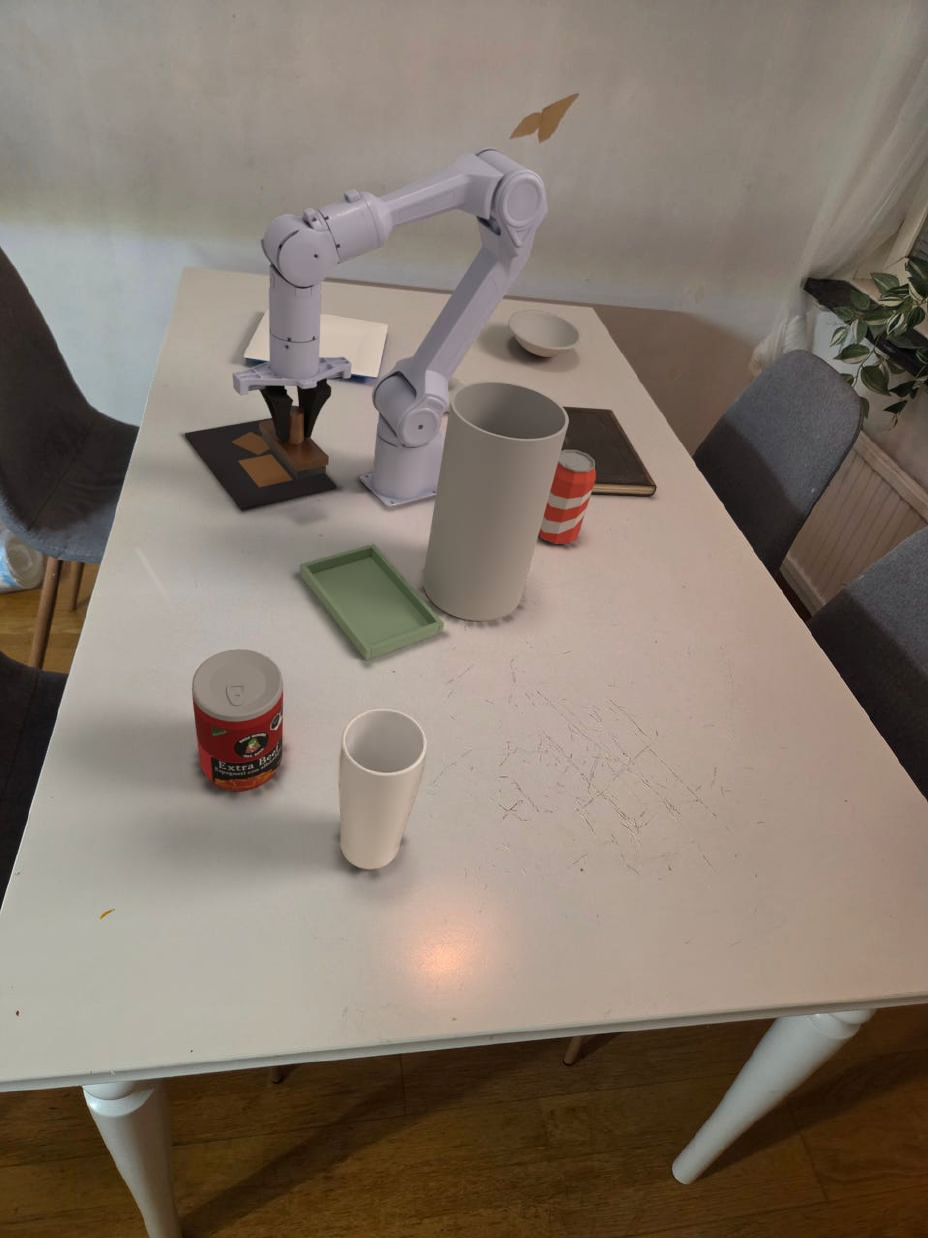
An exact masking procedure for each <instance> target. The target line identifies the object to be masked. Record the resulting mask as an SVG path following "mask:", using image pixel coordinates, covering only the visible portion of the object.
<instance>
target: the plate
mask: <svg viewBox="0 0 928 1238" xmlns="http://www.w3.org/2000/svg"><path fill="white" fill-rule="evenodd" d="M388 329H389V325H388V324H386V323H383V322H376V321H371V320H364V319H358V318H352V317H346V316H339V315H333V314H327V313H321V318H320V346H319V357H345V358H346V359H347V360H348V361H349V362H351V363H352V368H351V376H354V377H355V376H356V377H361V378H367V379H373V380H375V379H377V378H378V377H379V374H380V373H379V372H380V368H381V363H382V359H383V358H382V357H383V353H384V348H385V343H386V339H387V334H388V331H389V330H388ZM242 357H243V358H244V359H246V360H250V361H255V362H263V363H265V362H268V361H270V347H269V305H268V306H267V308H266V310H265V312H264V314H263V316H262V318H261V320H260V321H259V324H258V326H257V328H256V330H255V332H254V334H253V335H252V338H251V340H250V341H249V343H248V345H247V347H246V349H245V351H244V353H243V355H242Z"/></svg>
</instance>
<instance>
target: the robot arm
mask: <svg viewBox="0 0 928 1238" xmlns="http://www.w3.org/2000/svg"><path fill="white" fill-rule="evenodd" d="M343 197H344V198H342V199H339V200H337V201H334V202H332V203H328V204H326V205H323V206H321V207H318V208H316V209H314V208H313V207H308V208H305V209H303V211H302V213H303V214H302V217H301V216H299V215H297V214H295V215H294V214H292V213H286V214H282V215H281V214H280V215H279V216H276V217H275V218H274V219H272V220H271V222H270V225H267V227H266V229H265V231H264V234H263V237H262V238H260V246H261V250H262V252H263V255H264V257H266V259H267V260H268V262H269V263H270V264H269V288H268V306H269V347H270V361H268V362H263V363H260V364H258V365H257V364H256V365H254V366H252V367H250V368H246V369H244V370H240V371H234V372H232V386H233V387H232V388H233V389H234V391H236V393H238V395H240V396H245V395H249V393H250V392H252V391H253V392H254V391H258V390H259V392H260V395H261V396H262V398H263V399H264V402H265V404H266V406H267V408H268V411H269V413H270V418H272V420H273V423H274V428H275V432H276V436H277V437H278V438H279V439H280V440H281V441H282V442H283V443H285V442H288V439H289V417H290V411H291V406H292V405H293V403H294V399H293V398H292V397H291V396H290V395H289V394H288V389H287V388H286V387H296V391H297V401H298V406H299V407H301V408H303V409H304V411H305V419H304V436H305V437H306V438H312V434H313V431H314V427H315V424H316V423H317V419H318V417H319V415H320V412H321V411H322V409H323V407H324V405H325V404H326V403H327V402H328V400H329V399H330V398H331V396H332V386H330V384H329V383H328V379H334V378H340V377H341V378H342V379H344V380H345V379H351V377H352V375H351V368H352V363H351V362H349V361H348V360H347V359H346V358H345V357H319V346H320V318H321V314H322V282H323V281H324V280H325V279H326V278H327V276H328V275H329V273H330V271H331V270H332V269H333V268H334V267H336V266H338V265H340V264H342V263H345V262H347V261H350V260H352V259H355V258H358V257H360V256H362V255H365V254H368V253H369V252H372V251H375V250H377V249H380V248H382V247H384V246H385V245H386V243H387V241H388V239H389V237H390V234H391V232H392V231H393V230H396V229H399V228H402V227H406V226H409V225H411V224H415V223H418V222H421V221H423V220H424V221H425V220H427V219H430V218H433V217H436V216H440V215H442V214H445V213H449V212H451V211H454V210H459V211H462V212H465V213H468V214H470V215H473V216H475V218H476V220H477V226H478V231H479V235H480V239H481V241H480V242H481V248H480V249H479V251H478V253H477V254H476V256H475V257H474V259H473V260H472V262H471V264H470V265H469V267H468V268H467V270H466V272H465V273H464V274H463V276H462V278H461V280H460V281H459V283H458V284H457V286H456V287H455V289H454V291H453V292H452V294H451V295H450V297H449V298H448V300H447V302H446V304H445V305H444V306H443V308H442V310H441V311H440V313H439V314H438V316H437V318H436V319H435V320H434V322H433V324H432V326H430V328H429V330H428V332H427V333H426V335H425V337H424V338H423V340H422V342H421V343H420V345H419V346H418V348H417V349H416V351H415V353H414V354H413V355H412V356H410V357H404V358H402V359H399V360H397V362H395V365H394V366H393V367H392V369H391V370H390V371H389V372H388V373H386V374H384V375H383V376H382V377H381V378H380V379H378V381H377V382H375V385H374V387H373V389H372V392H371V401H372V405H373V407H374V408H375V410H376V411H377V412H378V419H377V420H378V421H377V424H376V432H375V433H376V434H375V444H374V455H373V467H372V472H371V473H366V474H362V475H360V476H359V480H360V481H361V482H362V484H364V485H365V486H366V488H367V489H368V490H369V491H370V492H372V493H373V494H374V496H375V497H377V498H378V500H379V501H380V502H381V503H382V504H383V505H384V506H385V507H387V508H391V507H395V506H400V505H404V504H407V503H411V502H415V501H419V500H423V499H426V498H432V497H436V492H437V485H438V479H439V473H440V466H441V460H442V454H443V447H444V441H445V438H444V436H443V434H442V432H441V431H440V429H441V426H442V420H443V417H444V414H445V413H446V412H445V411H446V409H447V408H448V406H449V391H448V381H449V379H450V378H451V377H453V375H454V374H455V372H456V370H457V369H458V367H459V366H460V364H461V363H462V361H463V360H464V358H465V357H466V355H467V354H468V352H469V351H470V349H471V348H472V346H473V344H474V343H475V341H476V340H477V339H478V337H479V336H480V334H481V332H482V331H483V329H484V328H485V326H486V325H487V324H488V321H490V319H491V317H492V316H493V314H494V313H495V311H496V310H497V308H498V307H499V305H500V304H501V302H502V300H503V299H504V297H505V296H506V294H507V293H508V291H509V289H510V288H511V287H512V285H514V284H513V283H514V282H515V281H516V280H517V278H518V276H519V275H520V274H521V272H522V270H523V269H524V267H525V266H526V264H527V262H528V260H529V258H530V255H531V252H532V248H533V244H534V240H535V236H536V232H537V229H538V228H539V227H540V225H541V224H542V222H543V220H544V219H545V217H546V216H547V214H548V212H549V208H548V201H547V194H546V188H545V183H544V181H543V180H542V178H541V176H540V175H539V174H537V172H535V171H533V170H531V169H529V168H526V167H524V166H523V165H521V164H519V163H518V162H516V161H515V160H513V159H511V158H510V157H508V156H507V155H506V154H504V152H502V151H501V150H500V149H498V148H496V147H492V146H486V147H482V148H479V149H478V150H476V151H474V152H468V153H463V154H461V155H459V156H458V157H457V158H456V159H455V160H454V161H453V162H452V163H450V164H448V165H447V166H444V167H442V168H440V169H438V170H436V171H433V172H431V173H429V174H427V175H425V176H423V177H420V178H418V179H417V180H414V181H413V182H410V183H408V184H406V185H404V186H402V187H399V188H397V189H395V190H392V191H391V192H389V193H387V194H384V195H382V196H380V197H378V196H376V195H374V194H372V193H371V192H368V191H367V190H362V191H360V192H359V191H357V190H356V189H355V188H351V189H349V190H346V191H344V192H343Z"/></svg>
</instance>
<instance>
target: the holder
mask: <svg viewBox="0 0 928 1238" xmlns="http://www.w3.org/2000/svg"><path fill="white" fill-rule="evenodd" d="M299 576H300V577H301V578H302V580H303V581H304V582H305V583H306V585H307V586H308V588H309V589H310V590H311V591H312V592H313V594H314V595H315V597H316V598H317V599H318V601H319V602H320V603H321V604H322V606H323V607H324V609H325V610H326V611H327V612H328V614H329V615H330V616H331V617H332V619H333V620H334V621H335V623H336V624H337V625H338V626H339V628H340V629H341V631H342V632H343V633H344V635H346V637H347V638H348V640H349V641H350V642H351V643H352V645H353V646H354V647H355V648H356V650H357V652H359V654H360V655H361V657H362V658H363V659H364V660H365V661H368V660H371V659H375V658H377V657H380V656H384V655H385V654H388V653H391V652H393V651H396V650H399V649H401V648H404V647H407V646H410V645H412V644H416V643H418V642H421V641H425V640H427V639H429V638H433V637H435V636H438V635H440V634H442V633H443V630H444V625H445V623H444V621H443V620H442V619H441V618H440V617H439V615H437V614H436V612H435V611H434V610H433V609H432V608H431V606H429V605H428V604H427V602H426V601H425V600H424V599H423V598H422V596H421V595H419V593H418V592H417V591H416V590H415V588H414V587H412V586H411V584H410V583H409V582H408V581H407V580H406V578H405V577H403V575H402V574H401V573H400V572H399V571H398V569H396V568H395V566H394V565H393V564H392V563H391V562H390V560H389V559H388V558H387V557H386V556H385V555H384V554H383V552H382V551H381V550H380V549H379V548H378V547H377V546H376V545H375V543H371V544H368V545H364V546H361V547H357V548H353V549H350V550H346V551H343V552H339V553H335V554H331V555H329V556H324V557H321V558H318V559H314V560H310V561H307V562H304V563H299Z"/></svg>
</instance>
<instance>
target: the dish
mask: <svg viewBox="0 0 928 1238" xmlns="http://www.w3.org/2000/svg"><path fill="white" fill-rule="evenodd" d="M507 321H508V323H507V324H508V328H509V330H510V331H511V333H512V334H513V336H514V338H515V339H516V341H517V343H518V344H519V345H520V346H521V347H522V348H523V349H524V350H526V351H527V352H529V353H531V354H533V355H536V356H540V357H545V358H554V357H558V356H561V355H564V354H566V353H568V352H569V351H571V350H572V349H574V348H577V347H578V346H579V345H580V344H581V342H582V340H583V334H582V332H581V330H580V329H579V327H577V325H576V324H575V323H573V322H572V321H570V320H568V319H567V318H565V317H563V316H561V315H558V314H556V313H553V312H549V311H543V310H536V309H535V310H534V309H528V310H521V311H517V312H514V313H512V314H511V315H510V316H509V318H508V320H507Z"/></svg>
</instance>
